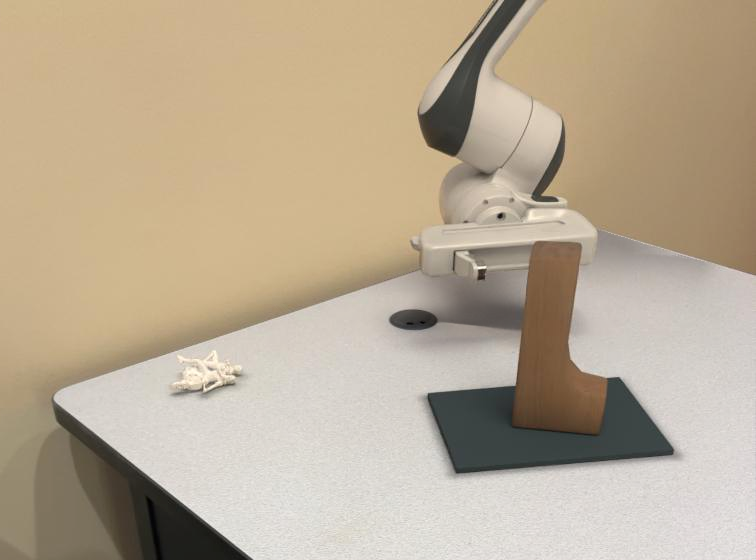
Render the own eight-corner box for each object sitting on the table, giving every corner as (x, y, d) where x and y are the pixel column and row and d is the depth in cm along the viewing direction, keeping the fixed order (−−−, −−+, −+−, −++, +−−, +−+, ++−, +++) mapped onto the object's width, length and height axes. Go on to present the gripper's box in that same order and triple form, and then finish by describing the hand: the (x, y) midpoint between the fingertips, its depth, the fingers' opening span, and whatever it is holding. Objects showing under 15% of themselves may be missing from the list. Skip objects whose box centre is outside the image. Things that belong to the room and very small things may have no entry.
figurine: (247, 372, 109) (228, 400, 103) (187, 367, 110) (165, 395, 104) (246, 349, 107) (227, 376, 101) (185, 344, 108) (162, 370, 102)
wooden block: (601, 415, 95) (632, 243, 83) (599, 436, 92) (631, 261, 80) (515, 407, 97) (534, 239, 85) (510, 428, 94) (529, 255, 82)
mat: (618, 381, 102) (619, 376, 101) (673, 454, 89) (674, 449, 89) (427, 397, 101) (427, 392, 101) (456, 473, 89) (456, 468, 89)
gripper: (408, 209, 106) (429, 249, 95) (578, 196, 106) (617, 235, 96) (406, 262, 110) (427, 306, 99) (570, 249, 110) (607, 292, 100)
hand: (522, 271), depth 98 cm, fingers open, 8 cm apart
